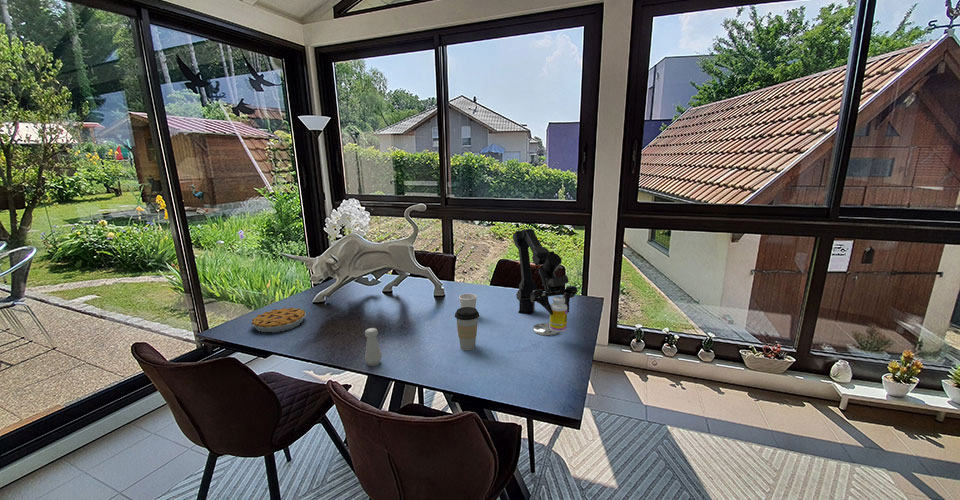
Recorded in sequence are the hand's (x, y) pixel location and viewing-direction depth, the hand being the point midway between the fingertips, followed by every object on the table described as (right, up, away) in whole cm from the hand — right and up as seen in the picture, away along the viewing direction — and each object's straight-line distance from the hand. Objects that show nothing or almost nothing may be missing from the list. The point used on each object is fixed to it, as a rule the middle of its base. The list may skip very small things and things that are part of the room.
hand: (560, 313), depth 150 cm
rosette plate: (-3, -10, +15) cm, 18 cm away
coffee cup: (-36, -13, +1) cm, 38 cm away
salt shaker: (-69, -16, -10) cm, 72 cm away
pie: (-122, -10, +27) cm, 125 cm away
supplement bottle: (0, -7, +3) cm, 7 cm away
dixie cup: (-36, -7, +32) cm, 49 cm away
